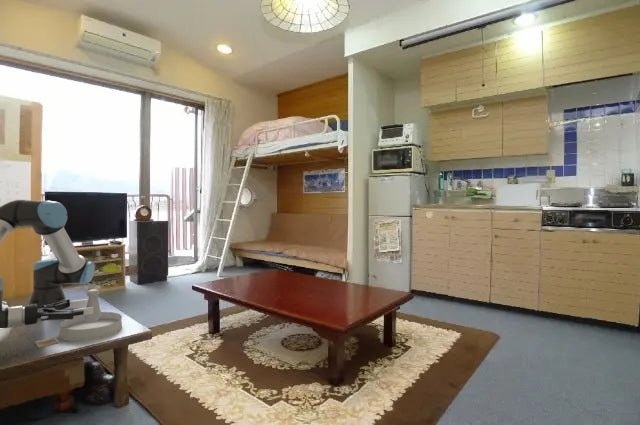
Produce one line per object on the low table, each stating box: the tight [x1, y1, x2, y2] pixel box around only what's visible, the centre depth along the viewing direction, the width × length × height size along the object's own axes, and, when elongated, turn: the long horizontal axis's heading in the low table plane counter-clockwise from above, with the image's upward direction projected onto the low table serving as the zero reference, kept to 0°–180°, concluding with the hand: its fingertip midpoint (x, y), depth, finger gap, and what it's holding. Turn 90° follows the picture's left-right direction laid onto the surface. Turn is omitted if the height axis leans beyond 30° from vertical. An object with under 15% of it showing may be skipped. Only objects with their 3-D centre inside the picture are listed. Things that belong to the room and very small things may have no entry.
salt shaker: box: [84, 288, 102, 322], centre depth 143 cm, size 6×6×13 cm
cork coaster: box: [34, 337, 59, 349], centre depth 129 cm, size 6×6×1 cm
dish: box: [58, 311, 123, 342], centre depth 143 cm, size 22×22×5 cm
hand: (90, 306), depth 142 cm, fingers open, 13 cm apart
